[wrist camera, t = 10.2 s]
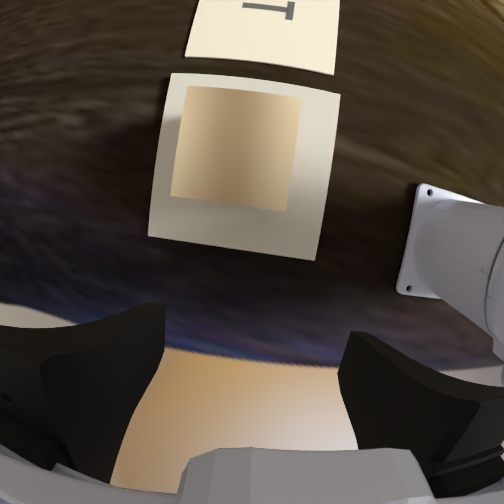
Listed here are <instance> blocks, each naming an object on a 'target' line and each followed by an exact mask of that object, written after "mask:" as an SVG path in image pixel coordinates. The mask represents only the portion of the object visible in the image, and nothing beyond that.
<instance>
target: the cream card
mask: <svg viewBox="0 0 504 504" xmlns="http://www.w3.org/2000/svg"><path fill="white" fill-rule="evenodd" d="M339 3H340V0H199V4H198V7H197V11H196V14H195V18H194V21H193V25H192V29H191V33H190V36H189V40H188V44H187V48H186V53H185V57H191V58H214V59H228V60H240V61H249V62H258V63H266V64H273V65H279V66H286V67H292V68H297V69H303V70H308V71H313V72H318V73H322V74H327V75H331V76H333V75H334V66H335V56H336V45H337V32H338V19H339Z"/></svg>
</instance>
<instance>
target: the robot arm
mask: <svg viewBox="0 0 504 504" xmlns="http://www.w3.org/2000/svg"><path fill="white" fill-rule="evenodd" d="M428 189H429V190H430V195H429V196H428V194H427V191H428ZM409 285H410V288H409V289H408V290H406V288H407V286H409ZM396 290H397V292H398V293H400V294H404V295H412V296H421V297H429V298H438V299H443V300H444V301H445V302H447V303H448V304H449V305H451V306H452V307H454V308H455V309H456V310H458V311H459V312H460V313H462V314H463V315H464V316H466V317H467V318H468V319H470V320H471V321H472V322H474V323H475V324H476V325H478V326H479V327H480V328H482V329H483V330H484V331H485V332H487V333H488V334H489V335H491V336H492V337H493V339H494V347H493V352H494V353H495V354H496V355H497V356H498V357H499V358H501V359H502V360H503V361H504V207H498V206H493V205H487V204H484V203H481V202H479V201H476V200H473V199H470V198H467V197H465V196H462V195H459V194H456V193H453V192H450V191H447V190H443V189H440V188H437V187H434V186H431V185H427V184H419V185H418V186H417V189H416V195H415V201H414V207H413V213H412V218H411V224H410V229H409V234H408V238H407V243H406V248H405V252H404V256H403V261H402V265H401V269H400V273H399V277H398V281H397V284H396ZM165 315H166V305H162V304H157V303H152V302H150V303H146V304H143V305H140V306H137V307H135V308H132V309H129V310H127V311H124V312H121V313H119V314H116V315H113V316H110V317H107V318H103V319H100V320H97V321H93V322H89V323H85V324H80V325H74V326H66V327H56V328H18V327H10V326H2V325H0V504H504V460H503V459H502V458H501V456H500V455H502V454H503V453H504V448H503V447H502V446H501V443H502V442H503V440H504V365H503V369H502V374H501V381H502V386H503V387H496V386H487V385H481V384H477V383H472V382H468V381H464V380H460V379H457V378H454V377H451V376H448V375H445V374H442V373H440V372H438V371H435V370H433V369H431V368H428V367H426V366H424V365H422V364H420V363H418V362H416V361H415V360H413V359H411V358H409V357H407V356H406V355H404V354H402V353H401V352H399V351H397V350H396V349H394V348H393V347H391V346H389V345H388V344H386V343H385V342H383V341H381V340H380V339H378V338H376V337H375V336H373V335H371V334H369V333H366V332H360V331H351V332H350V336H349V339H348V342H347V345H346V348H345V352H344V355H343V358H342V361H341V364H340V367H339V370H338V373H337V374H338V380H339V386H340V392H341V395H342V398H343V401H344V404H345V407H346V410H347V412H348V415H349V419H350V421H351V424H352V427H353V430H354V433H355V437H356V440H357V444H358V450H346V451H345V450H344V451H297V450H296V451H295V450H277V449H264V448H253V447H250V448H249V447H248V448H218V449H215V450H212V451H210V452H207V453H204V454H202V455H199V456H196V457H193V458H191V459H190V460H189V462H188V464H187V466H186V467H185V469H184V471H183V472H182V476H181V480H180V484H179V488H178V492H177V494H174V493H162V492H151V491H142V490H134V489H127V488H121V487H116V486H113V485H110V480H111V476H112V473H113V469H114V466H115V463H116V459H117V455H118V453H119V450H120V447H121V444H122V440H123V438H124V435H125V433H126V430H127V427H128V425H129V422H130V420H131V417H132V415H133V413H134V411H135V409H136V407H137V405H138V403H139V401H140V400H141V398H142V396H143V394H144V393H145V391H146V389H147V387H148V385H149V384H150V382H151V380H152V378H153V376H154V375H155V373H156V371H157V369H158V366H159V364H160V361H161V359H162V356H163V353H164V347H165Z"/></svg>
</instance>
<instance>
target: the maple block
mask: <svg viewBox="0 0 504 504" xmlns="http://www.w3.org/2000/svg"><path fill="white" fill-rule="evenodd" d="M301 104H302V99H301V98H295V97H289V96H283V95H277V94H270V93H263V92H256V91H247V90H238V89H228V88H217V87H202V86H187V91H186V96H185V102H184V107H183V113H182V118H181V124H180V130H179V136H178V143H177V149H176V156H175V163H174V171H173V178H172V186H171V194H170V196H176V197H184V198H193V199H201V200H208V201H216V202H224V203H231V204H238V205H245V206H252V207H259V208H266V209H272V210H279V211H285V212H286V207H287V200H288V194H289V187H290V181H291V174H292V168H293V161H294V154H295V147H296V140H297V133H298V126H299V119H300V111H301Z"/></svg>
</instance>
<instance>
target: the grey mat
mask: <svg viewBox="0 0 504 504" xmlns="http://www.w3.org/2000/svg"><path fill="white" fill-rule="evenodd" d="M187 86H202V87H217V88H228V89H238V90H247V91H256V92H263V93H270V94H277V95H283V96H289V97H295V98H301V99H302V104H301V111H300V119H299V126H298V133H297V140H296V147H295V154H294V161H293V168H292V174H291V181H290V187H289V194H288V200H287V207H286V212H285V211H279V210H272V209H266V208H259V207H252V206H245V205H238V204H231V203H224V202H216V201H208V200H201V199H193V198H184V197H176V196H170V194H171V186H172V178H173V171H174V163H175V156H176V149H177V143H178V136H179V130H180V124H181V118H182V113H183V107H184V102H185V96H186V91H187ZM339 102H340V94H336V93H331V92H327V91H322V90H318V89H313V88H308V87H303V86H297V85H291V84H286V83H279V82H273V81H266V80H258V79H250V78H241V77H231V76H220V75H205V74H182V73H172V74H171V79H170V83H169V88H168V93H167V98H166V103H165V108H164V114H163V119H162V125H161V131H160V137H159V143H158V150H157V157H156V164H155V171H154V179H153V187H152V196H151V206H150V216H149V227H148V236H152V237H159V238H165V239H172V240H179V241H185V242H192V243H199V244H206V245H212V246H219V247H226V248H232V249H239V250H246V251H253V252H259V253H266V254H273V255H279V256H286V257H293V258H299V259H306V260H313V261H315V257H316V252H317V247H318V242H319V236H320V231H321V225H322V220H323V214H324V208H325V202H326V196H327V190H328V184H329V177H330V171H331V164H332V157H333V150H334V143H335V135H336V128H337V120H338V111H339Z"/></svg>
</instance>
